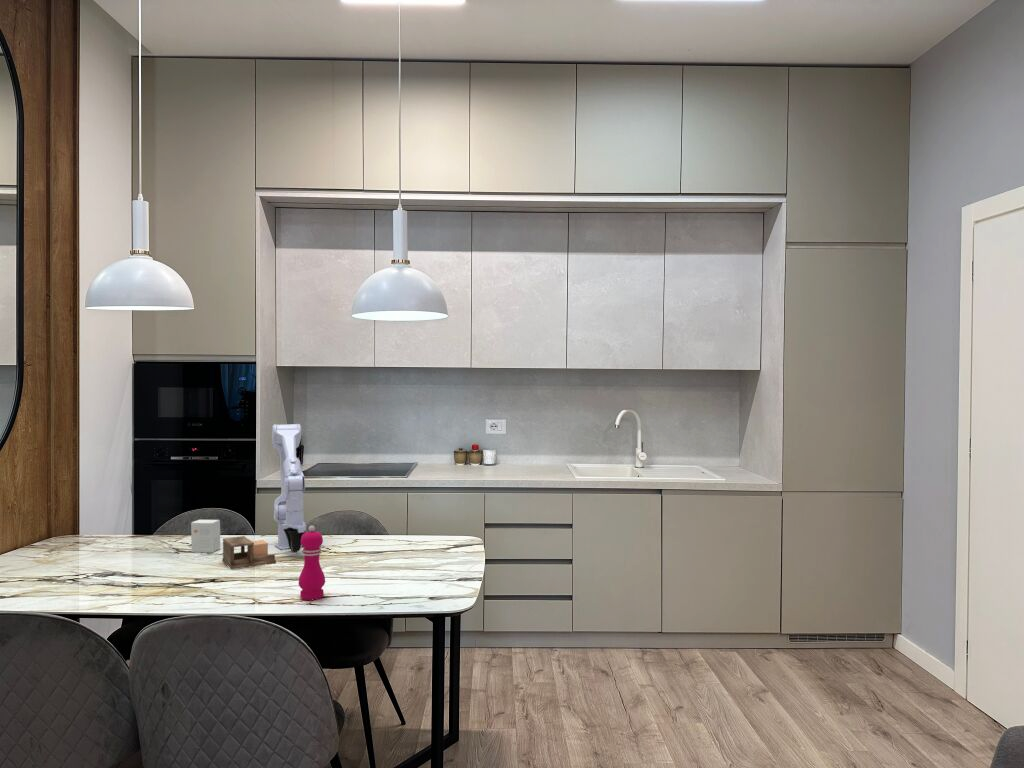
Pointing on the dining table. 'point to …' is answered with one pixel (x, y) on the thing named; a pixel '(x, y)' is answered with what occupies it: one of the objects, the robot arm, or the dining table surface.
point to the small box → (205, 535)
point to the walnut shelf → (242, 554)
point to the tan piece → (264, 549)
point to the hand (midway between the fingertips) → (294, 550)
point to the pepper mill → (311, 566)
